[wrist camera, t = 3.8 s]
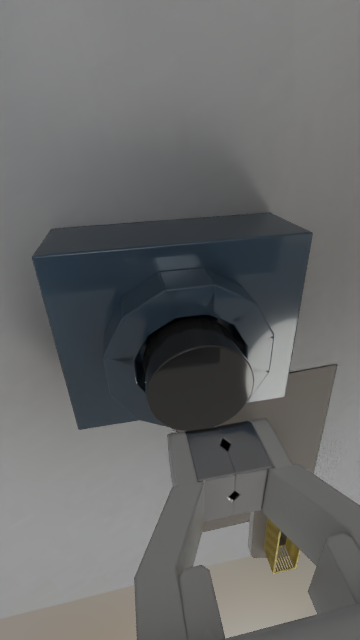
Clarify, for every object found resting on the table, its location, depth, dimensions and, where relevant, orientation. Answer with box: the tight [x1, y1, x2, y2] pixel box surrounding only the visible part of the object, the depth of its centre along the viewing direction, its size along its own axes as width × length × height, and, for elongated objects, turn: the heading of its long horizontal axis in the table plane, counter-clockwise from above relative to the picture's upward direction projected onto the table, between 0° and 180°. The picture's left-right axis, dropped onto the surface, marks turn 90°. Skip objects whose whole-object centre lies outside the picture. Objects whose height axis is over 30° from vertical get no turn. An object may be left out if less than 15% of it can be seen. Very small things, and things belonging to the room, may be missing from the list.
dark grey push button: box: [142, 318, 254, 431], centre depth 12 cm, size 4×4×2 cm
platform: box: [177, 365, 337, 574], centre depth 24 cm, size 12×18×7 cm, turn 4°
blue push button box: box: [32, 213, 313, 430], centre depth 16 cm, size 11×9×6 cm
